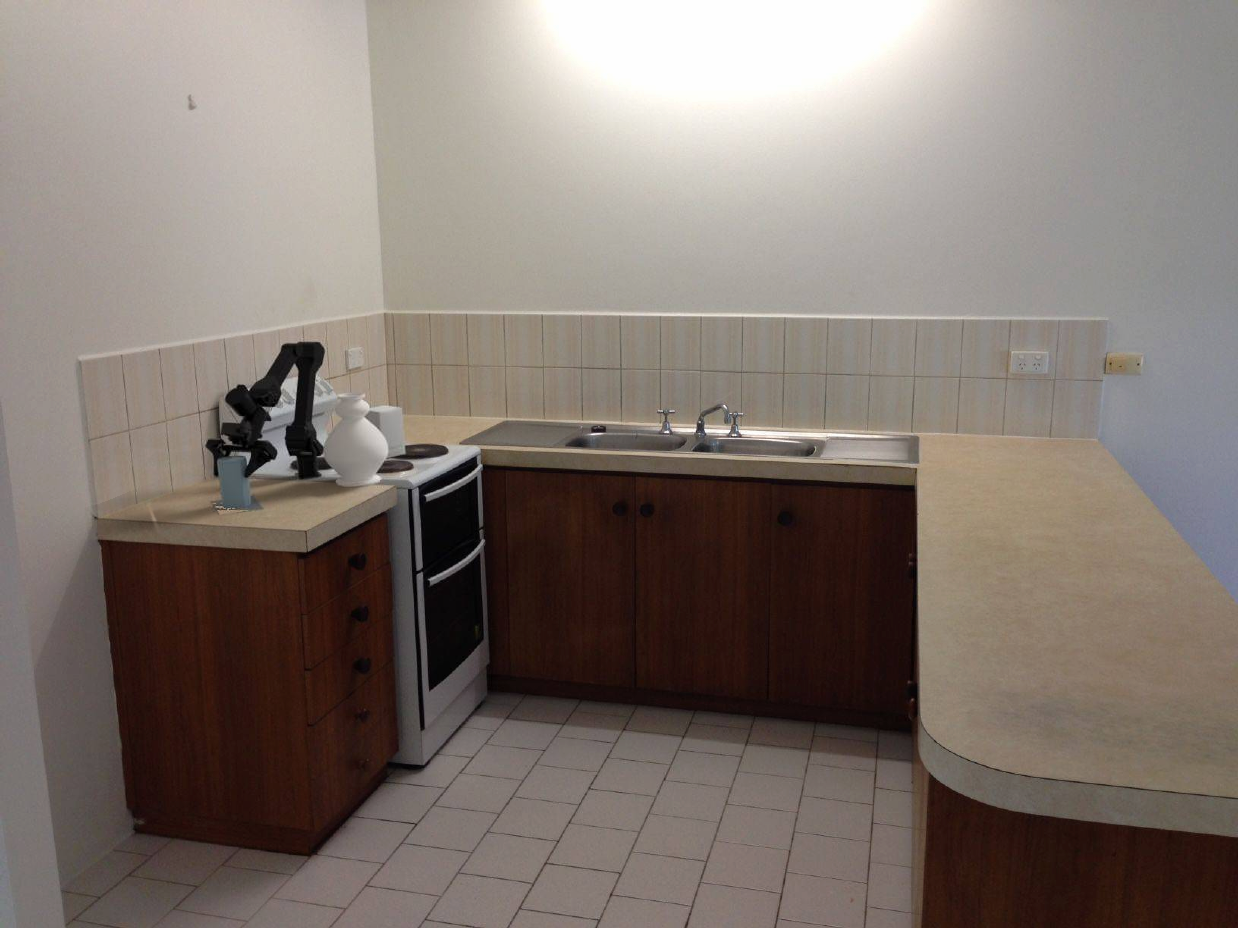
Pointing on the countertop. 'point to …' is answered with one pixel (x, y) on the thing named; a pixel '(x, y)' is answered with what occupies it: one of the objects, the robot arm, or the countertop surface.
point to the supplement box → (389, 427)
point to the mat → (253, 506)
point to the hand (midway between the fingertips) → (230, 476)
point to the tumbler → (234, 482)
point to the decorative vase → (355, 443)
